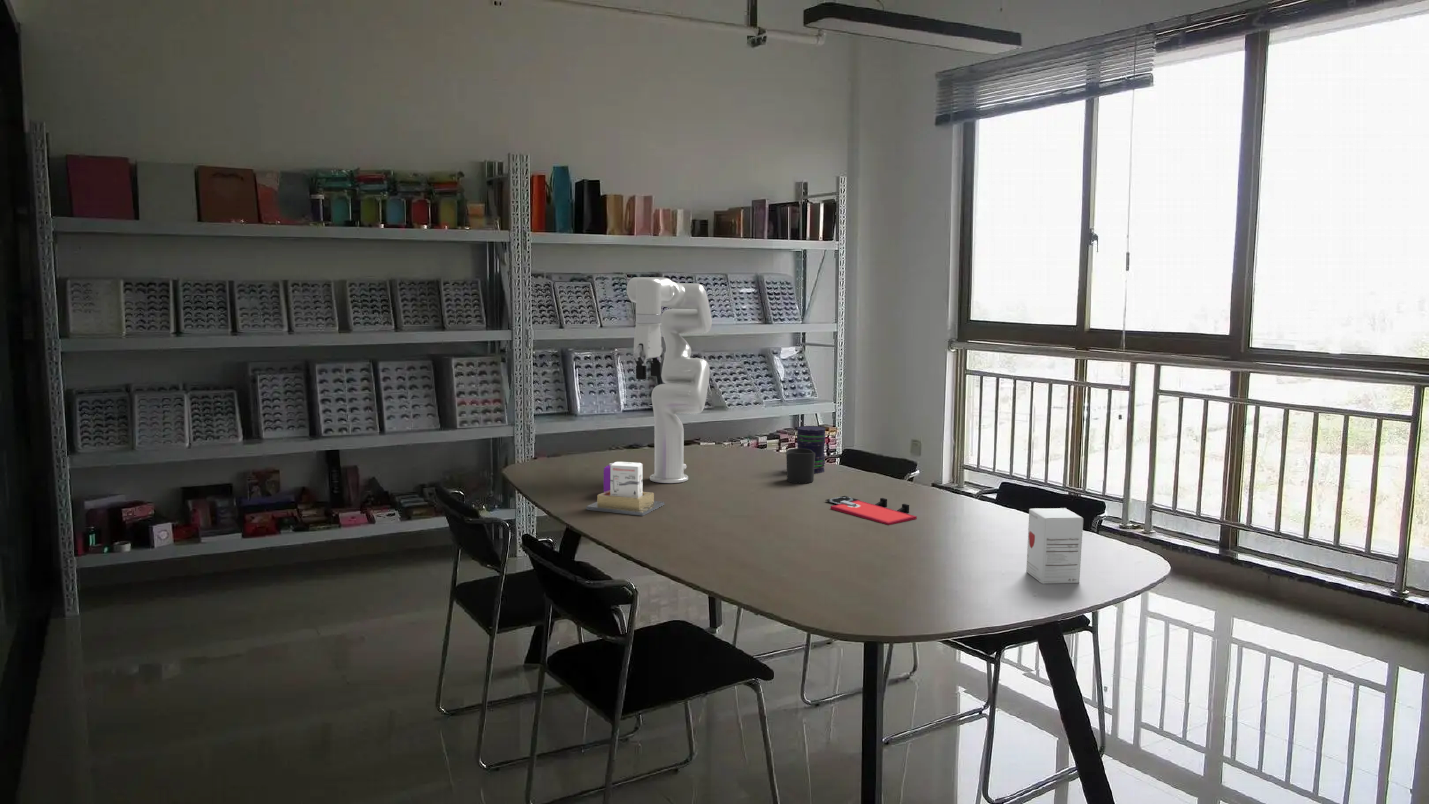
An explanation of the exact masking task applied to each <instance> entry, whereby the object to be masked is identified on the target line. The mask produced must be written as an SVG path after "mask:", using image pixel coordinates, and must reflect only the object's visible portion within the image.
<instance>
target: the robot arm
mask: <svg viewBox="0 0 1429 804" xmlns="http://www.w3.org/2000/svg"><path fill="white" fill-rule="evenodd" d="M626 293H627V297H628V299H629V300H630V301H631V302H632V303H634V304H635V328H634V329H635V330H634V335H633V336H634V337H633V357H634V362H635V363H634V364H635V379H636V380H647V365H646V364H647V361H648V360H651V362H650V377H661V381H662V382H663V383H660V384H657V385H656V386H655V387H653V389H652V392H651V405H652V410H653V419H654V420H653V421H654V422H653V423H654V433H653V434H654V438H653V439H654V441H653V442H654V444H653V445H654V473H652V474H650V475H649V480H650V482H651V481H652V482H655V483H660V484H678V483H684V482H687V481H688V480H689V476H688V475H687V474H686V473H684V470H686V469H687V467H688V466H687V464H686V463H684V449H685V448H684V446H685V445H684V444H685V443H684V439H685V437H684V436H685V435H684V433H685V432H684V431H685V430H684V424H683V422H682V420H681V419H680V417H678V415H677V414H685V415H687V414H688V415H690V414H691V415H697V414H698V415H699V414H701V413H702V412H703V410H704V409H705V406H706V400H707V395H708V388H709V383H710V375H711V374H710V373H711V372H710V364H709V363H708V361H707V360H706V359H703V358H699V357H691V355H692V347H691V346H690V345H689V342H687V340H686V339H685V338H684V337H683V336H682V334H684V335H685V334H686V335H689V334H692V335H693V334H694V335H704V334H708V333H709V332H710V330H711V329H712V325H713V323H712V322H713V321H712V313H711V308H710V303H709V298H708V295H707V291H706V289H705V287H704V286H703V285H702V284H700V283H696V282H695V283H693V282H691V283H686V282H685V283H684V282H683V283H681V282H675V281H673V280H671V279H670V278H667V277H660V276H659V277H658V276H657V277H656V276H655V277H652V276H651V277H649V276H640V277H638V276H637V277H632V278H630V279H629V280H628V283H627V285H626ZM662 307H663V308H668V309H666V310H664V311H663V312H662ZM662 336H663V340H664V344H665V353H664V358H663V350H664V347H663V346H662ZM662 358H663V363H662Z"/></svg>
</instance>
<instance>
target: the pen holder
mask: <svg viewBox="0 0 1429 804" xmlns="http://www.w3.org/2000/svg"><path fill="white" fill-rule="evenodd" d="M785 456H786V480H787V482H788V483H792V484H802V485H803V484H810V483H813V482H814V479H815V473H814V467H815V453H814V452H813V451H812V450H809V449H798V448H789V449H787V450H786V453H785Z"/></svg>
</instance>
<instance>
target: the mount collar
mask: <svg viewBox="0 0 1429 804" xmlns="http://www.w3.org/2000/svg"><path fill="white" fill-rule="evenodd" d="M596 498H597V500H596V501H595V502H593V503H591V504H588V505H586V506H585V507H586V509H585V510H586V511H595V512H596V511H597V512H605V513H613V514H623V515H632V516H641V517H644V516H645V515H648V514H650V513H652V512H654V511H655V509H656V510H657V509H659V507H660V508H662V507H664V506H665V501H658V500H655V493H654V492H649V491H643V496H641V497H639V498H631V497H621V496H611V495H610V490H608V491H606V492H604V491H603V492H601V493H598V494H597V497H596ZM663 505H664V506H663ZM661 506H662V507H661ZM653 510H654V511H653ZM651 511H652V512H651Z"/></svg>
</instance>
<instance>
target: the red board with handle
mask: <svg viewBox="0 0 1429 804" xmlns="http://www.w3.org/2000/svg"><path fill="white" fill-rule="evenodd" d="M825 501H826V502H829V503H834V504H836V505H831V506H830V510H833V511H836V512H841V513H843V514H847V515H852V516H854V517H858V518H862V519H866V520H869V521H873V522H876V523H879V524H884V525H887V526H891V525H895V524H900V523H904V522H905V523H906V522H908V521H913V520H917V518H918V516H916V515H913V514H910V504H907V503H902V504H901V507H900V508H898V509H897V510H894V509H891V508H888V499H887V498H884V497H880V499H879V502H877V503H875V504H873V503H869V502H866V501H863V500H860V499H858V498H854V497H851V496H847V495H843V496H838V497H833V498H828V499H825Z"/></svg>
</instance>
